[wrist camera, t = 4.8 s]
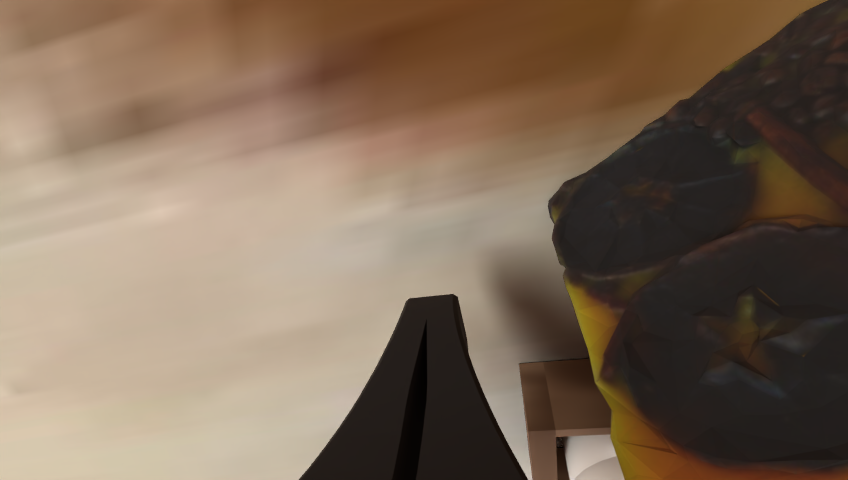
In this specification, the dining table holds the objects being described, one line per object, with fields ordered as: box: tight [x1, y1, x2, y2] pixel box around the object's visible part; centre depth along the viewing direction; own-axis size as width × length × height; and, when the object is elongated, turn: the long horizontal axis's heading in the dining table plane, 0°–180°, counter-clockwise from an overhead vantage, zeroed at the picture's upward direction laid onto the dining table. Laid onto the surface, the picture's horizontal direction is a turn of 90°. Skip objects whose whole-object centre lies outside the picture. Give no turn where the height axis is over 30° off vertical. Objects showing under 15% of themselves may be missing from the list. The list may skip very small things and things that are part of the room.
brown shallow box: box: [519, 359, 611, 480], centre depth 19 cm, size 16×8×3 cm, turn 101°
